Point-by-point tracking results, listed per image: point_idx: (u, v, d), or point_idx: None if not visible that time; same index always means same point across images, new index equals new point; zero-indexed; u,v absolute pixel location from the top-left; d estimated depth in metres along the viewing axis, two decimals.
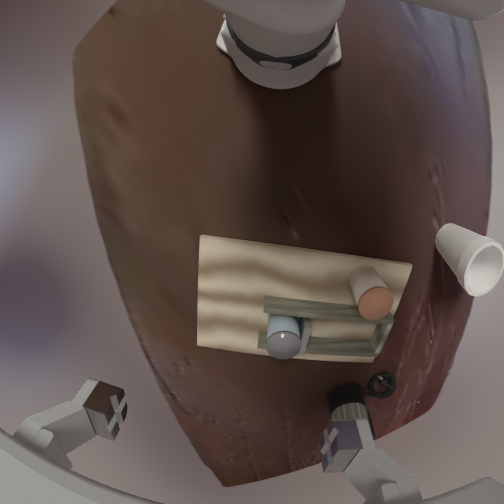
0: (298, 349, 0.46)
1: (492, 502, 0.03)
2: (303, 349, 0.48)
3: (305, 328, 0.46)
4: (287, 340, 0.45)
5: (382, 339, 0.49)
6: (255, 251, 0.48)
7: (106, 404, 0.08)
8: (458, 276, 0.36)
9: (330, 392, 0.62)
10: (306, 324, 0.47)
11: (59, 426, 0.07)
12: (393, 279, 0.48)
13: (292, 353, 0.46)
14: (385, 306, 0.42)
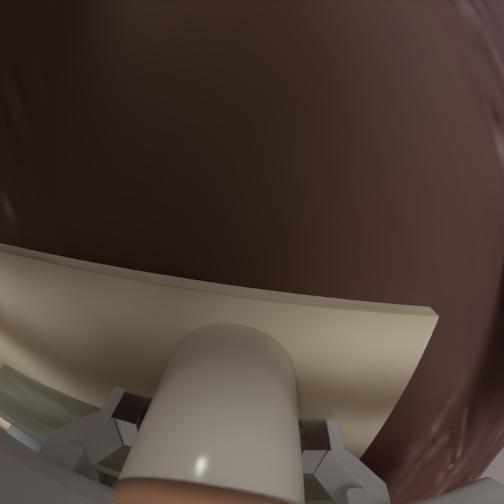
0: None
1: (492, 502, 0.03)
2: None
3: None
4: None
5: None
6: None
7: (136, 413, 0.08)
8: None
9: None
10: None
11: (87, 438, 0.07)
12: (360, 371, 0.12)
13: None
14: None
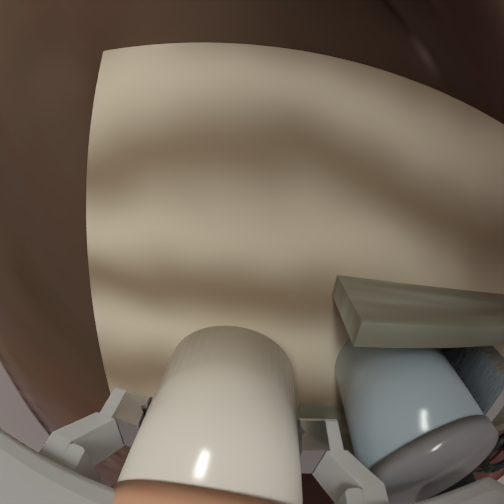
0: (469, 471, 0.07)
1: (492, 502, 0.03)
2: None
3: None
4: (465, 454, 0.06)
5: None
6: (306, 78, 0.10)
7: (137, 413, 0.08)
8: None
9: None
10: (503, 370, 0.08)
11: (88, 439, 0.07)
12: None
13: (442, 486, 0.07)
14: None
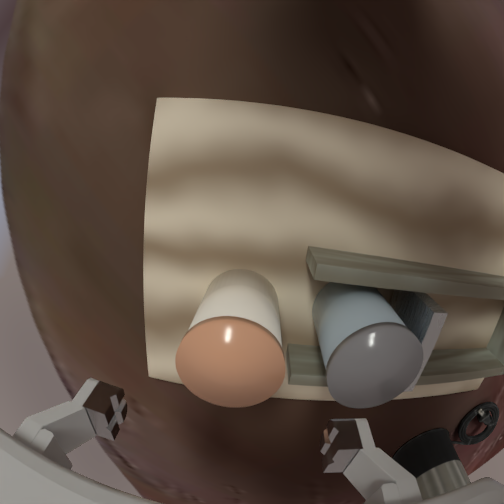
0: (409, 380, 0.14)
1: (492, 502, 0.03)
2: None
3: (434, 315, 0.15)
4: (396, 352, 0.14)
5: None
6: (287, 125, 0.18)
7: (106, 403, 0.08)
8: None
9: (402, 450, 0.28)
10: (432, 306, 0.16)
11: (59, 426, 0.07)
12: None
13: (390, 391, 0.14)
14: (260, 376, 0.14)
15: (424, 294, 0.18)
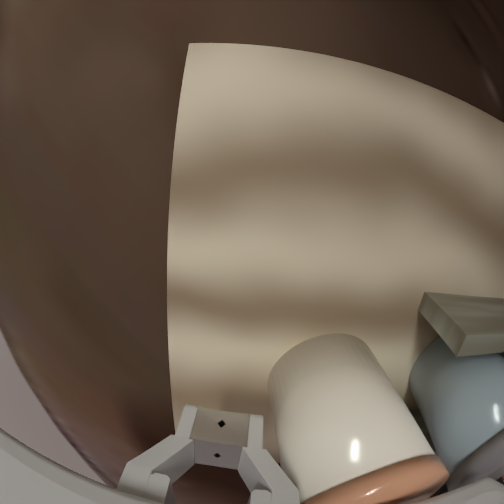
0: None
1: (492, 502, 0.03)
2: None
3: None
4: None
5: None
6: (410, 105, 0.10)
7: (214, 431, 0.08)
8: None
9: None
10: None
11: (167, 465, 0.07)
12: None
13: (500, 474, 0.06)
14: (409, 503, 0.06)
15: None
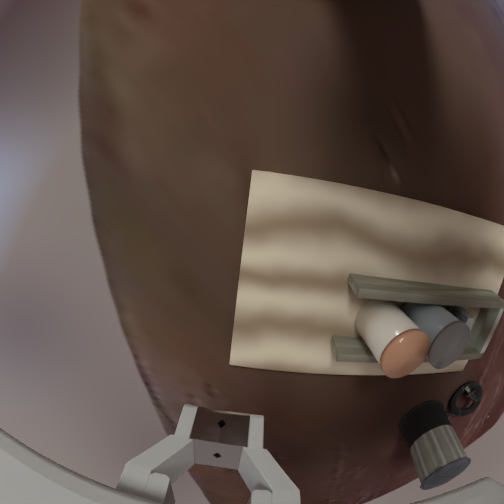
0: (462, 350, 0.25)
1: (492, 502, 0.03)
2: None
3: (468, 319, 0.26)
4: (460, 335, 0.24)
5: (491, 331, 0.28)
6: (341, 196, 0.29)
7: (214, 430, 0.08)
8: None
9: (406, 417, 0.39)
10: (466, 314, 0.26)
11: (166, 464, 0.07)
12: (499, 248, 0.29)
13: (453, 358, 0.25)
14: (419, 355, 0.25)
15: (461, 306, 0.28)
